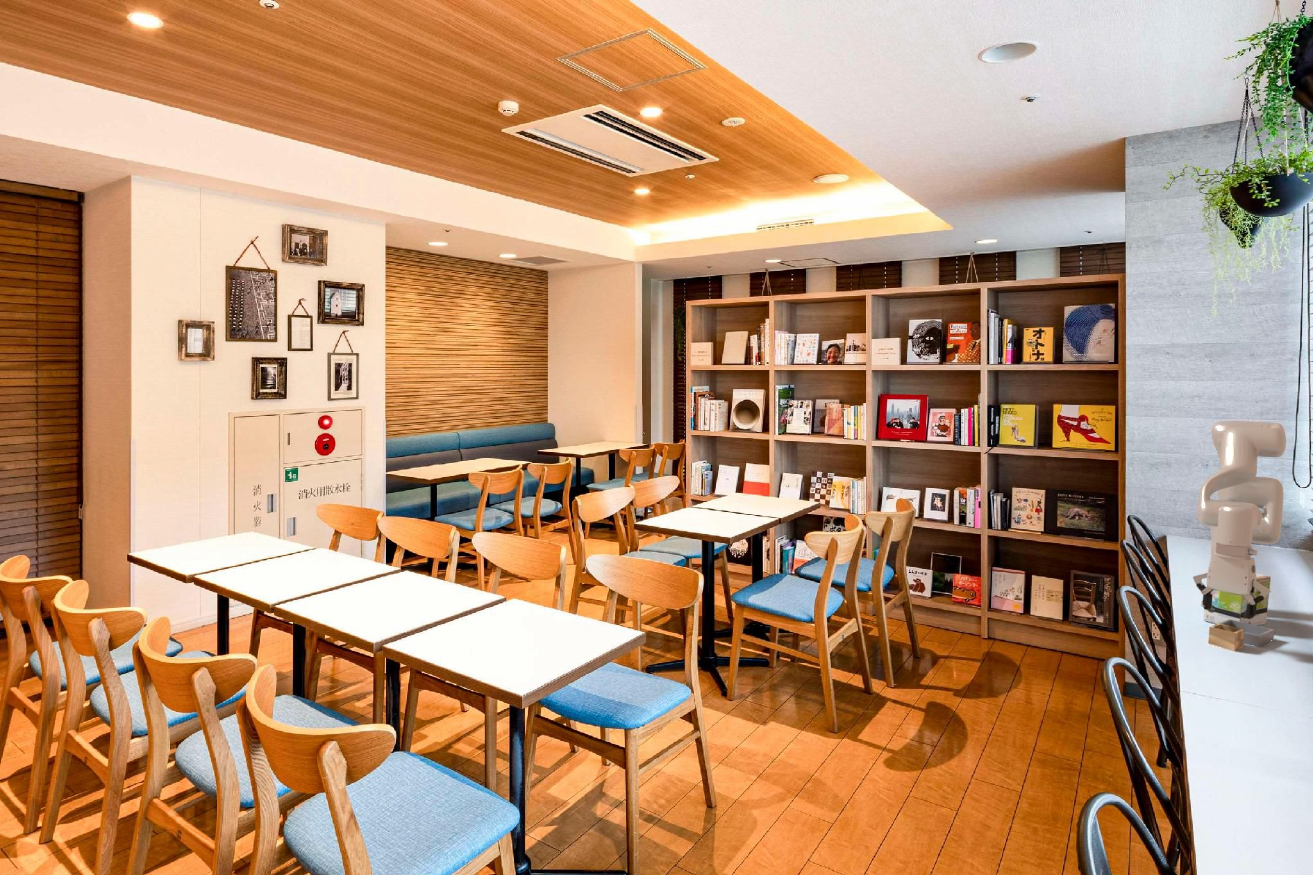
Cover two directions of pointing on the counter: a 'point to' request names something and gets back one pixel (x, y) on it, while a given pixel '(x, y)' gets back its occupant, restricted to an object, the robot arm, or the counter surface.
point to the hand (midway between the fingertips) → (1228, 613)
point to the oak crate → (1226, 637)
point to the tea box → (1237, 606)
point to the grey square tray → (1252, 632)
